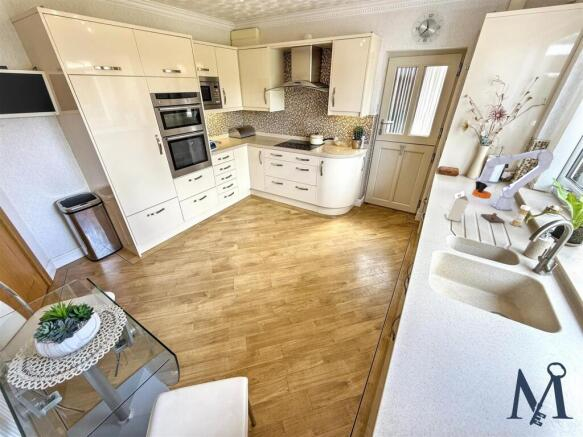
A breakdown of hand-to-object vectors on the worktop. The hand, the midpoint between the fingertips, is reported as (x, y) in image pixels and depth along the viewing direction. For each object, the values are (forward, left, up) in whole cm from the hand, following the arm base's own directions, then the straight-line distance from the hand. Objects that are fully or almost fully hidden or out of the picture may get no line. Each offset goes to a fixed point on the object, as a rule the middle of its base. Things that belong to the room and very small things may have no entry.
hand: (478, 191), depth 176 cm
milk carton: (+33, +30, -8) cm, 45 cm away
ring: (0, +4, -1) cm, 4 cm away
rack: (+5, +28, -8) cm, 30 cm away
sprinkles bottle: (-5, +34, -8) cm, 36 cm away
